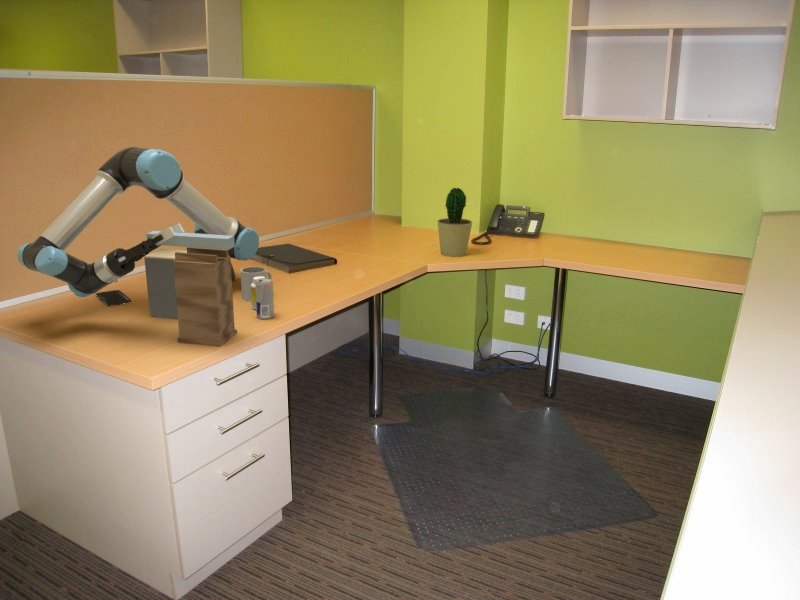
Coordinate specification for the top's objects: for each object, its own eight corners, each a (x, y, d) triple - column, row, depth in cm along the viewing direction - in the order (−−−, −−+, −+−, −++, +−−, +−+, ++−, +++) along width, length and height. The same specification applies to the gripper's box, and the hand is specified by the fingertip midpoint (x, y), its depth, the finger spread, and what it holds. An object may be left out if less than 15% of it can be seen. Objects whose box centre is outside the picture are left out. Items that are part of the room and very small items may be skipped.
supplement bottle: (260, 311, 211) (258, 281, 208) (248, 308, 214) (246, 278, 211) (272, 307, 215) (271, 277, 212) (261, 304, 218) (259, 274, 215)
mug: (250, 303, 218) (249, 274, 215) (237, 297, 224) (235, 269, 221) (281, 296, 227) (280, 268, 224) (267, 290, 233) (266, 263, 229)
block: (167, 306, 213) (161, 248, 207) (201, 309, 211) (196, 251, 205) (150, 316, 204) (144, 256, 198) (185, 319, 202) (180, 258, 196)
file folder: (243, 249, 276) (291, 242, 292) (244, 258, 277) (291, 251, 293) (287, 264, 253) (337, 256, 269) (288, 275, 254) (337, 266, 270)
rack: (196, 329, 194) (189, 245, 186) (237, 332, 192) (232, 248, 184) (177, 342, 184) (169, 254, 176) (220, 346, 182) (214, 257, 174)
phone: (118, 289, 227) (132, 300, 216) (118, 292, 228) (132, 303, 217) (94, 293, 223) (107, 304, 211) (94, 296, 223) (107, 307, 212)
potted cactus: (438, 258, 283) (441, 188, 274) (433, 249, 298) (436, 183, 288) (473, 258, 284) (477, 189, 275) (467, 249, 299) (470, 184, 290)
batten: (155, 241, 184) (154, 230, 183) (234, 246, 180) (234, 235, 179) (147, 244, 180) (146, 233, 179) (228, 249, 176) (227, 239, 175)
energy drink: (261, 313, 209) (260, 277, 205) (277, 315, 208) (275, 278, 204) (253, 318, 204) (251, 281, 201) (269, 320, 203) (267, 283, 199)
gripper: (139, 268, 195) (199, 234, 188) (104, 284, 179) (168, 248, 172) (125, 246, 194) (185, 211, 187) (89, 261, 178) (152, 223, 171)
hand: (176, 229), depth 179 cm, fingers closed on batten, 4 cm apart
